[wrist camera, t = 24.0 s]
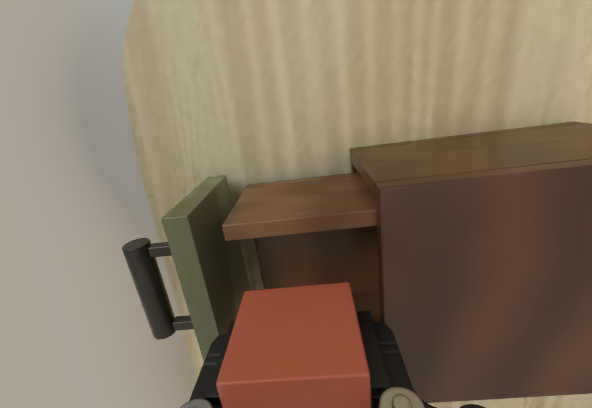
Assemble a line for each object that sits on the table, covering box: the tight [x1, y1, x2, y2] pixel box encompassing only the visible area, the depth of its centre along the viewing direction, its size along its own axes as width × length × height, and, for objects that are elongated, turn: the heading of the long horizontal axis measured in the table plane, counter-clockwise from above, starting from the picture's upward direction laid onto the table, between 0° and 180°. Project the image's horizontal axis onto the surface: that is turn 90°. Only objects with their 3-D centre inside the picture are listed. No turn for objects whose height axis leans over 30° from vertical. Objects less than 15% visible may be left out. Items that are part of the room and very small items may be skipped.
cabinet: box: [350, 122, 592, 403], centre depth 17 cm, size 14×12×9 cm
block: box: [216, 282, 372, 408], centre depth 11 cm, size 4×4×4 cm
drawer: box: [122, 173, 381, 361], centre depth 18 cm, size 16×10×7 cm, turn 97°
